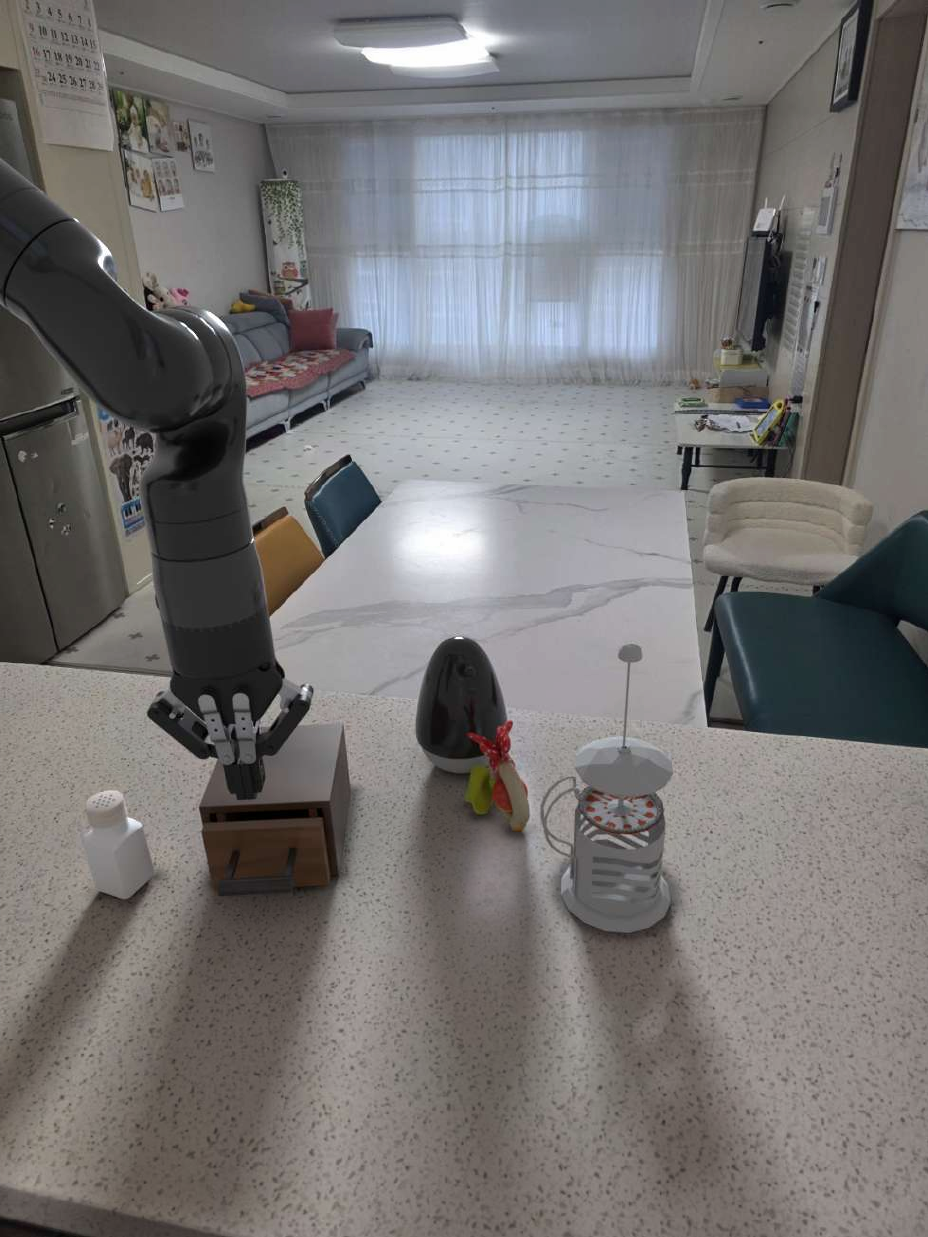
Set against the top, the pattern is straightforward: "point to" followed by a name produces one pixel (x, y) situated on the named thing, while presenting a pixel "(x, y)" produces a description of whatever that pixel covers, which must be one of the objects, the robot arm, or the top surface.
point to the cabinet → (296, 783)
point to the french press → (617, 830)
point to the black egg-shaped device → (458, 705)
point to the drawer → (266, 851)
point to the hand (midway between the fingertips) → (248, 793)
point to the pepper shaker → (116, 846)
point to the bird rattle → (498, 780)
